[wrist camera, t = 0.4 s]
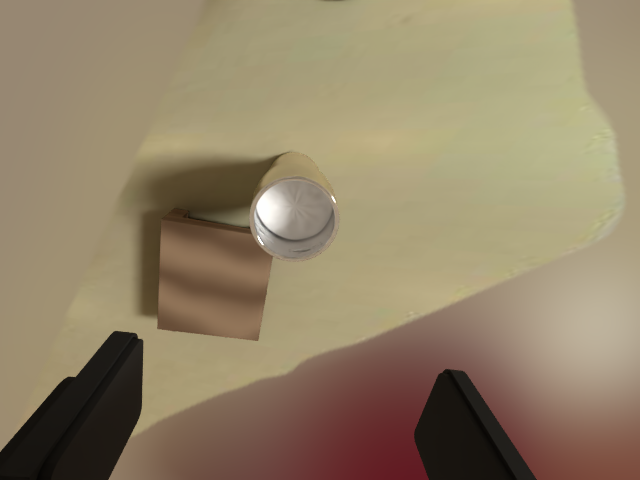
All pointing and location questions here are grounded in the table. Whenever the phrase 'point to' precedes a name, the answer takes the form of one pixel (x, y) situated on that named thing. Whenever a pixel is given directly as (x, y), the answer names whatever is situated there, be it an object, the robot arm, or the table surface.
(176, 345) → the table surface
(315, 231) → the beer glass
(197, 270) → the walnut shelf
